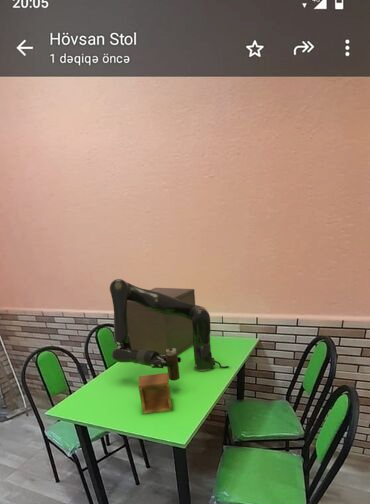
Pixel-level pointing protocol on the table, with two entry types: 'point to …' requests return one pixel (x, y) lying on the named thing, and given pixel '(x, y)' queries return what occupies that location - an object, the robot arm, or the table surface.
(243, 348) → the table surface
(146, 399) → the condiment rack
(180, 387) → the table surface
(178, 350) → the storage cube
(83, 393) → the table surface
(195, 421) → the table surface
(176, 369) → the pepper mill
